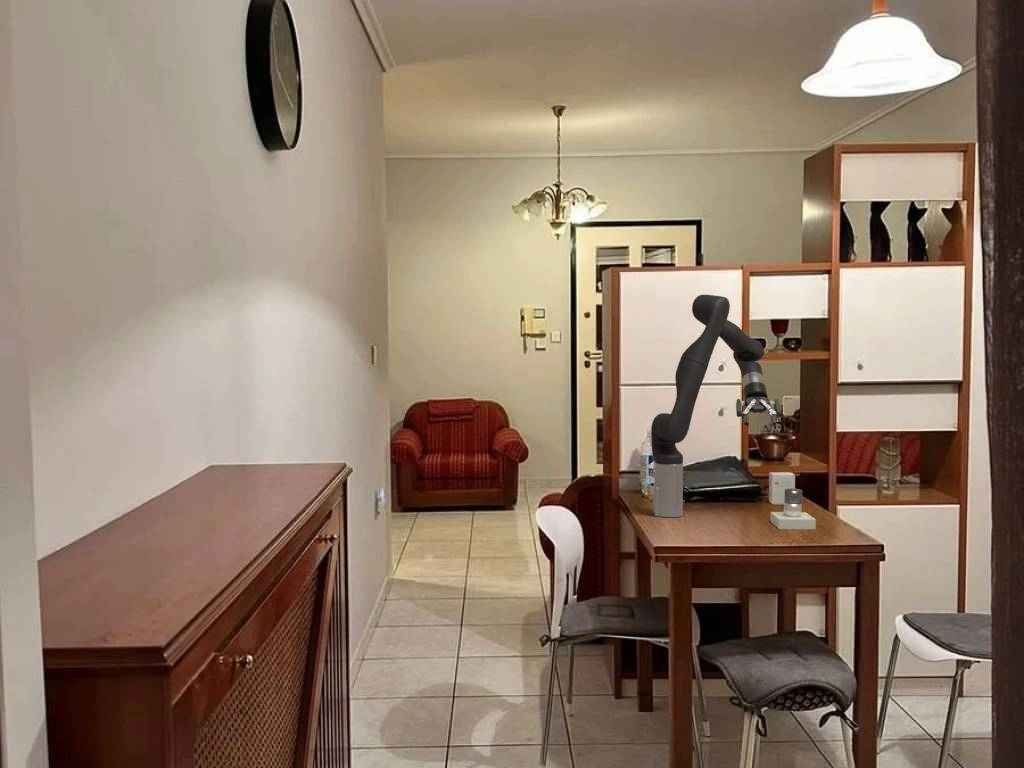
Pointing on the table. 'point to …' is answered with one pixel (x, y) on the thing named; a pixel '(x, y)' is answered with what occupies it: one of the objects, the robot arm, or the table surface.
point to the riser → (793, 521)
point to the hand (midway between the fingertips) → (760, 425)
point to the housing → (792, 502)
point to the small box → (779, 485)
